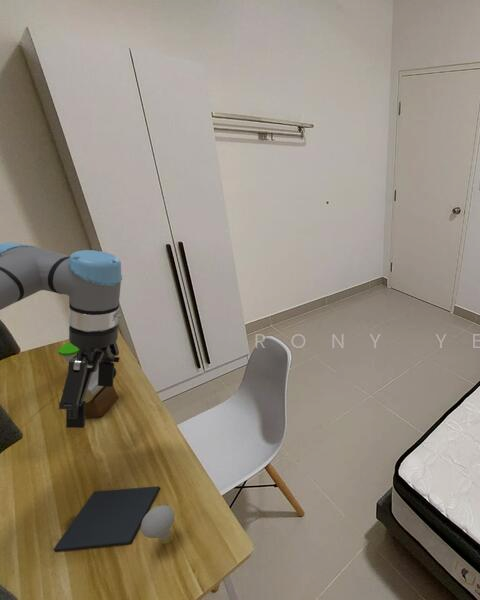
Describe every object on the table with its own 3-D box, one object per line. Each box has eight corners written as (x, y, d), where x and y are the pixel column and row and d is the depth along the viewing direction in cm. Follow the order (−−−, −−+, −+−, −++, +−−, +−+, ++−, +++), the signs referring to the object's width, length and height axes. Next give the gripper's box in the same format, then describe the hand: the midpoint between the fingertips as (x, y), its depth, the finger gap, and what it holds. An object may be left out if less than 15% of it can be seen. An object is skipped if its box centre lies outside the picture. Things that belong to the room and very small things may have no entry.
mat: (55, 552, 66) (52, 549, 66) (95, 493, 77) (93, 491, 76) (131, 544, 68) (129, 541, 68) (160, 488, 79) (159, 486, 78)
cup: (74, 381, 108) (54, 344, 101) (67, 371, 112) (48, 334, 105) (103, 370, 113) (87, 334, 106) (96, 360, 117) (80, 325, 110)
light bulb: (158, 561, 66) (143, 534, 61) (147, 542, 69) (132, 515, 64) (187, 538, 70) (175, 511, 65) (176, 521, 73) (163, 494, 68)
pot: (67, 404, 91) (56, 384, 88) (92, 380, 100) (83, 360, 96) (98, 403, 92) (88, 383, 89) (120, 379, 101) (111, 360, 97)
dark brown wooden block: (84, 418, 95) (74, 399, 92) (102, 398, 102) (93, 380, 99) (104, 417, 96) (94, 399, 93) (120, 397, 103) (112, 379, 100)
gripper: (87, 360, 59) (84, 447, 66) (139, 302, 80) (133, 372, 87) (30, 355, 56) (34, 448, 63) (100, 296, 77) (97, 370, 84)
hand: (91, 404), depth 75 cm, fingers open, 13 cm apart
